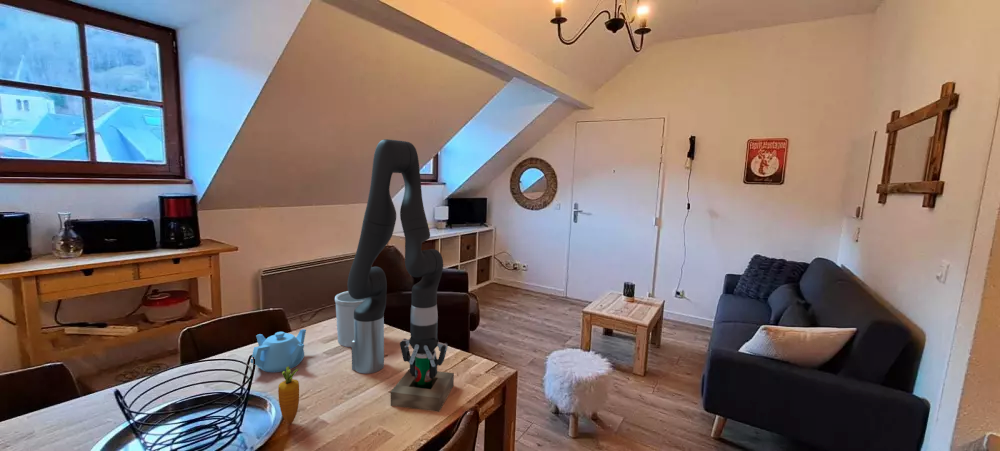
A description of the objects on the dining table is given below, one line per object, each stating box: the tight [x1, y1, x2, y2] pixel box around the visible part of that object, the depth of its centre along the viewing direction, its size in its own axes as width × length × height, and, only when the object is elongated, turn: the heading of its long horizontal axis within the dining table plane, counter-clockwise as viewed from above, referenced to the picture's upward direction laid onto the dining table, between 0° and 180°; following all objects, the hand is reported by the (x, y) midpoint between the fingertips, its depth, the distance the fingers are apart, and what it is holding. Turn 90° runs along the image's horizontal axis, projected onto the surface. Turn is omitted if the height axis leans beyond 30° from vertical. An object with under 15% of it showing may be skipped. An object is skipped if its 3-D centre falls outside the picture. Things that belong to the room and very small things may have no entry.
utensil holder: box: [334, 290, 365, 348], centre depth 152 cm, size 15×15×18 cm
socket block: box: [390, 368, 455, 413], centre depth 117 cm, size 14×14×4 cm
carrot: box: [277, 366, 300, 425], centre depth 101 cm, size 5×5×15 cm
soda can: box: [414, 352, 432, 389], centre depth 116 cm, size 5×5×12 cm
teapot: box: [250, 328, 307, 373], centre depth 132 cm, size 15×15×11 cm
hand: (423, 375), depth 116 cm, fingers closed on soda can, 5 cm apart
